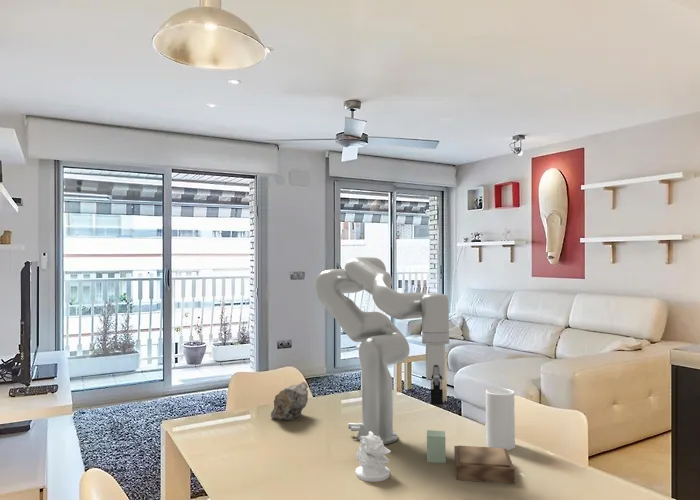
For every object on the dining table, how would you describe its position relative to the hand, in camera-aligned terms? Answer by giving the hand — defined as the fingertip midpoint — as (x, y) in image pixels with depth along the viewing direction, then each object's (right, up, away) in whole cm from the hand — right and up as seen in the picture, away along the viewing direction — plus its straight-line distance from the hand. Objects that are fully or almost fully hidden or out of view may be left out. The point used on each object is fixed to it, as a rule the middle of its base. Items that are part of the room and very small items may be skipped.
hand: (436, 399), depth 139 cm
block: (0, -16, 0) cm, 16 cm away
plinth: (+11, -16, -8) cm, 21 cm away
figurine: (-18, -16, -10) cm, 27 cm away
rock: (-46, -18, +38) cm, 62 cm away
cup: (+21, -17, +10) cm, 29 cm away
